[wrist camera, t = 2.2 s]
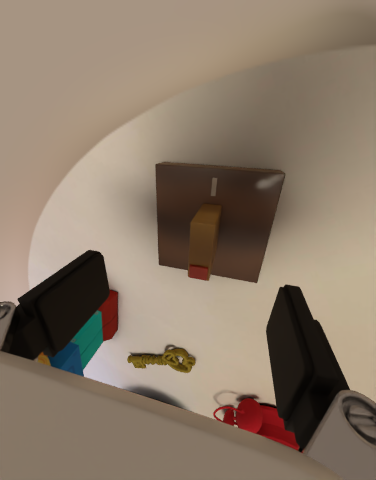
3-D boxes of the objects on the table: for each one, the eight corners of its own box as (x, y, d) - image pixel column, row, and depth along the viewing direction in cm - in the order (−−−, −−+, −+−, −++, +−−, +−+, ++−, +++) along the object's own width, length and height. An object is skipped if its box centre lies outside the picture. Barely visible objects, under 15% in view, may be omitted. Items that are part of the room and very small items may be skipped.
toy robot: (82, 271, 27) (-611, 822, 5) (122, 284, 26) (-505, 1013, 4) (88, 324, 32) (-229, 697, 11) (121, 337, 31) (-150, 768, 10)
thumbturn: (202, 202, 16) (189, 223, 12) (222, 205, 16) (214, 226, 12) (199, 248, 18) (186, 279, 14) (216, 251, 18) (208, 283, 14)
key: (132, 371, 33) (119, 351, 31) (135, 363, 34) (124, 344, 32) (198, 375, 29) (188, 353, 27) (199, 367, 30) (190, 344, 28)
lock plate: (163, 161, 17) (154, 164, 16) (280, 170, 15) (286, 173, 14) (165, 255, 22) (158, 265, 20) (255, 271, 20) (257, 284, 18)
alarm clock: (286, 478, 31) (202, 464, 28) (273, 426, 36) (201, 410, 33) (337, 467, 26) (240, 448, 23) (313, 408, 31) (232, 387, 28)
